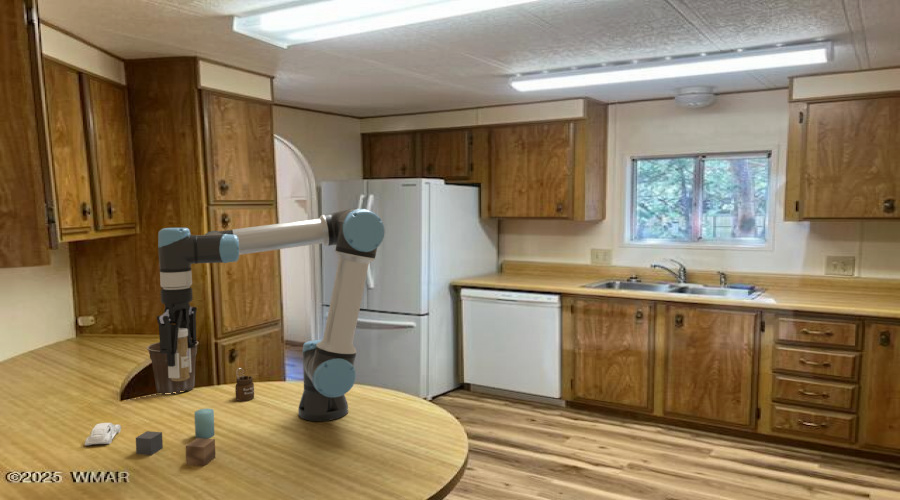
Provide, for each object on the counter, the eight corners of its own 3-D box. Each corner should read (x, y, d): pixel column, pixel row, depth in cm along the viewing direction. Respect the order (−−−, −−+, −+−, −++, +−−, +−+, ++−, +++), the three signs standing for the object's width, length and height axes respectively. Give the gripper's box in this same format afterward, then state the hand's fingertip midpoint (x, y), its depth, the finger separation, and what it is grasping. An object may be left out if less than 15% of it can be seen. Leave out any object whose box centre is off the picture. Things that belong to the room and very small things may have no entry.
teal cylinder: (218, 432, 172) (217, 409, 171) (207, 439, 167) (207, 415, 166) (202, 431, 173) (201, 408, 172) (191, 438, 168) (190, 414, 167)
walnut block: (215, 458, 156) (214, 439, 155) (204, 466, 151) (203, 447, 150) (198, 456, 157) (197, 437, 156) (186, 464, 152) (185, 445, 151)
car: (108, 447, 163) (107, 430, 162) (83, 449, 162) (82, 432, 161) (124, 430, 175) (123, 414, 174) (100, 432, 174) (99, 416, 173)
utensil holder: (231, 400, 199) (230, 364, 198) (244, 394, 205) (243, 360, 204) (245, 402, 197) (244, 366, 196) (258, 396, 203) (257, 361, 202)
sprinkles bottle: (191, 379, 158) (189, 329, 157) (172, 382, 155) (170, 331, 154) (188, 375, 162) (186, 326, 160) (169, 378, 159) (167, 328, 158)
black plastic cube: (162, 448, 162) (162, 432, 161) (151, 455, 157) (150, 438, 157) (147, 447, 162) (147, 431, 162) (136, 454, 158) (135, 437, 158)
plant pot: (147, 399, 200) (145, 352, 198) (150, 385, 215) (148, 341, 213) (200, 393, 206) (198, 347, 205) (199, 380, 221) (198, 337, 220)
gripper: (184, 282, 165) (187, 365, 168) (140, 292, 148) (145, 384, 151) (208, 282, 164) (212, 366, 166) (167, 293, 147) (172, 386, 149)
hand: (180, 374), depth 158 cm, fingers closed on sprinkles bottle, 4 cm apart
